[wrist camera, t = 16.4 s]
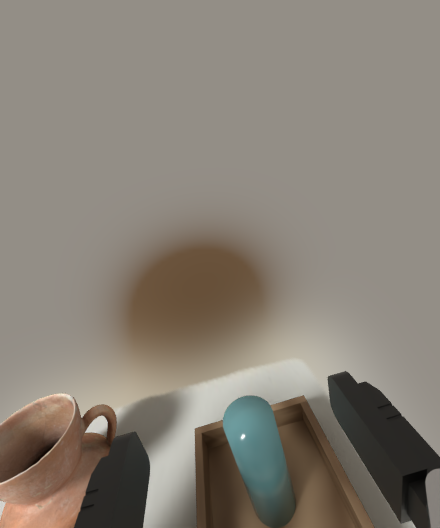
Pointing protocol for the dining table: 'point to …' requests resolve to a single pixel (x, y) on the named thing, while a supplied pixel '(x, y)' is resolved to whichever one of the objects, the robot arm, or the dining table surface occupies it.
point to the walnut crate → (300, 469)
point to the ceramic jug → (49, 461)
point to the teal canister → (260, 459)
